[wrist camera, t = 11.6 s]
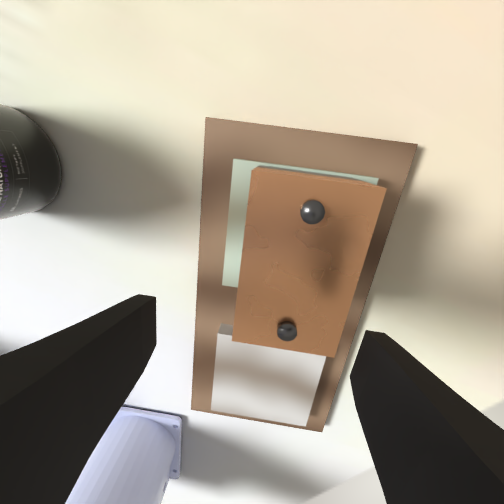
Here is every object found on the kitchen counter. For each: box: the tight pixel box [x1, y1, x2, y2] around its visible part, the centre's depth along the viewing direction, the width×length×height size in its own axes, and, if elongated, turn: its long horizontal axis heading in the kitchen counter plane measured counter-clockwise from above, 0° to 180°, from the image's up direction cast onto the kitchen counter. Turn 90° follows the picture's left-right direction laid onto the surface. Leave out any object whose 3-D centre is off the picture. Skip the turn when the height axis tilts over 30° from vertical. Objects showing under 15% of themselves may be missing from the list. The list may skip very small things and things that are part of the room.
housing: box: [232, 165, 387, 358], centre depth 13 cm, size 5×8×5 cm, turn 173°
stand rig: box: [191, 117, 418, 432], centre depth 19 cm, size 24×12×2 cm, turn 173°
